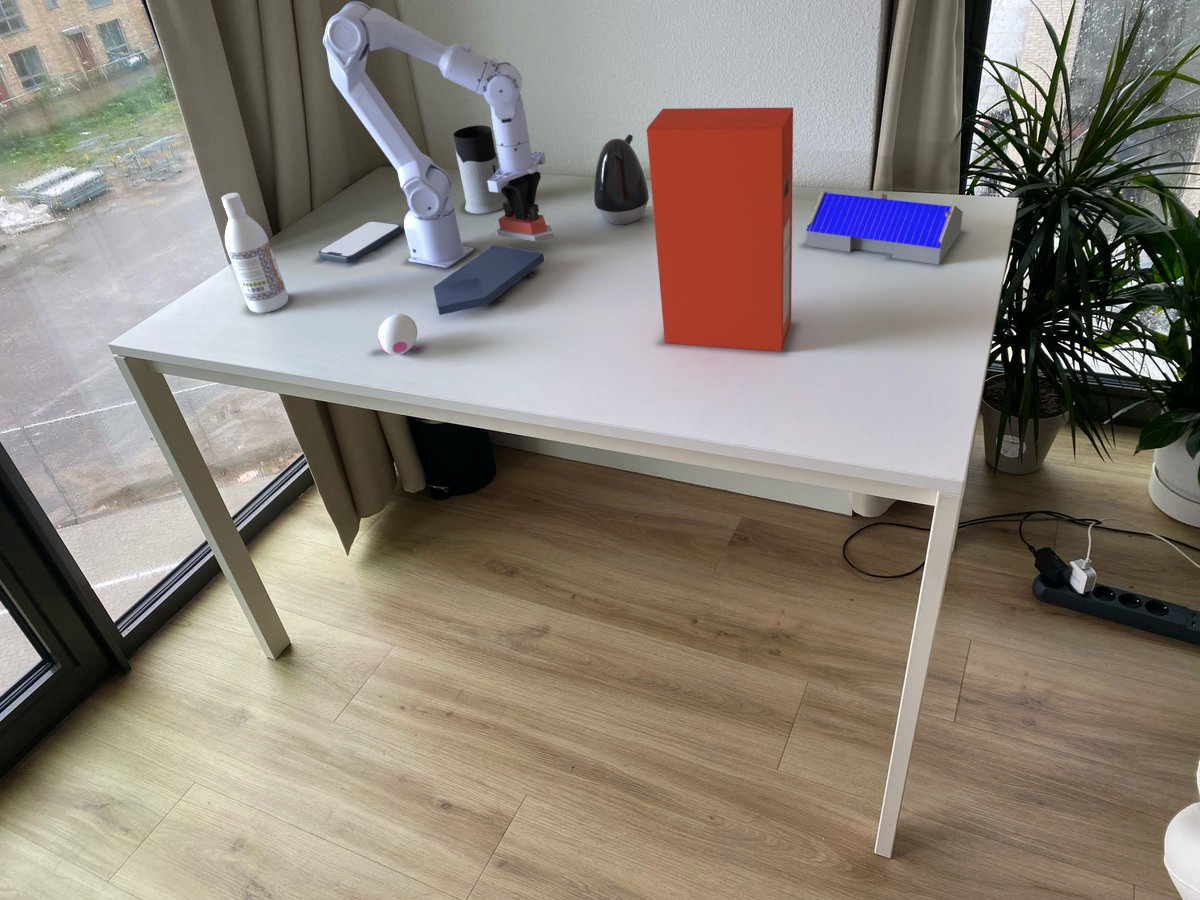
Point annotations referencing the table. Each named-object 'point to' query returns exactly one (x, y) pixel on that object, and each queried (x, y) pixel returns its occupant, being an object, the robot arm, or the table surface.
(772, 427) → the table surface
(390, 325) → the stress ball
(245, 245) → the bath foam
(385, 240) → the smartphone with white screen
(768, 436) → the table surface
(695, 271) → the file binder
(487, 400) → the table surface
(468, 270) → the ironing board
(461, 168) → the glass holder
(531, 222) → the iron
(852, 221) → the blue roofed model house
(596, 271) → the table surface
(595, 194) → the black egg-shaped figure
